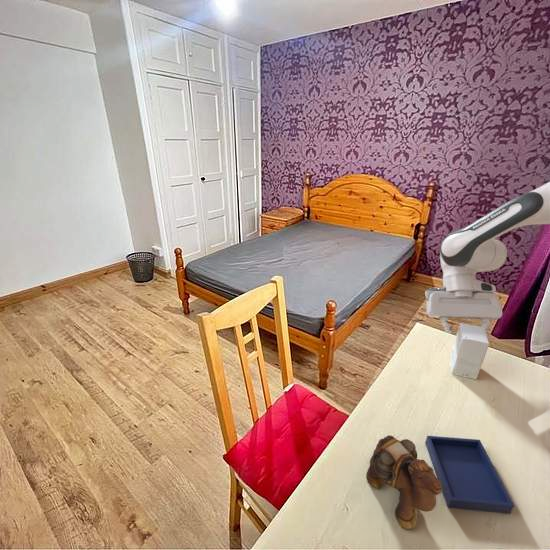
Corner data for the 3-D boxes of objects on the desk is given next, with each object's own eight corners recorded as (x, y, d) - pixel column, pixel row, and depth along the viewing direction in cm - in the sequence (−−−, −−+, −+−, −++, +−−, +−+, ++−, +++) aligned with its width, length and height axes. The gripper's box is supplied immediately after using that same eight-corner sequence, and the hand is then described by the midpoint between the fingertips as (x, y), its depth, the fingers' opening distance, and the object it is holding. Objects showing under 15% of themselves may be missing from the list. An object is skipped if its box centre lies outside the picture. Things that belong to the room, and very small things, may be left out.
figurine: (407, 549, 53) (424, 501, 46) (351, 469, 65) (358, 422, 59) (444, 521, 57) (465, 472, 50) (385, 450, 69) (395, 404, 62)
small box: (476, 380, 86) (490, 344, 80) (451, 374, 89) (462, 338, 83) (472, 361, 93) (485, 326, 87) (449, 356, 95) (459, 322, 89)
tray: (476, 447, 69) (479, 439, 68) (510, 513, 57) (514, 506, 56) (424, 442, 70) (427, 435, 69) (447, 507, 59) (450, 500, 57)
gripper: (428, 284, 92) (432, 330, 87) (501, 286, 89) (509, 333, 85) (420, 289, 98) (424, 333, 93) (489, 291, 95) (496, 336, 91)
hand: (465, 333), depth 89 cm, fingers open, 8 cm apart
